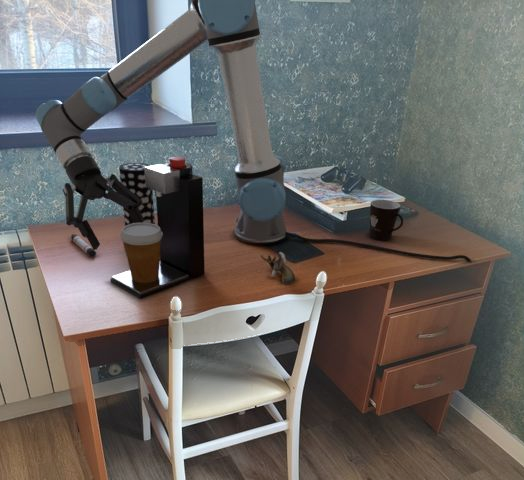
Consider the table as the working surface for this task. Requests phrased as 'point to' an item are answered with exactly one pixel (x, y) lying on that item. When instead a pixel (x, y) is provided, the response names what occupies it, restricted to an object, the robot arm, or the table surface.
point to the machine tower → (183, 225)
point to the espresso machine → (169, 277)
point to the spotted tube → (137, 190)
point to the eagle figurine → (280, 268)
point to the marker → (83, 245)
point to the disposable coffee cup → (142, 250)
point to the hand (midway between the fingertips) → (121, 240)
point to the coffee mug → (383, 219)
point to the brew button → (177, 162)
